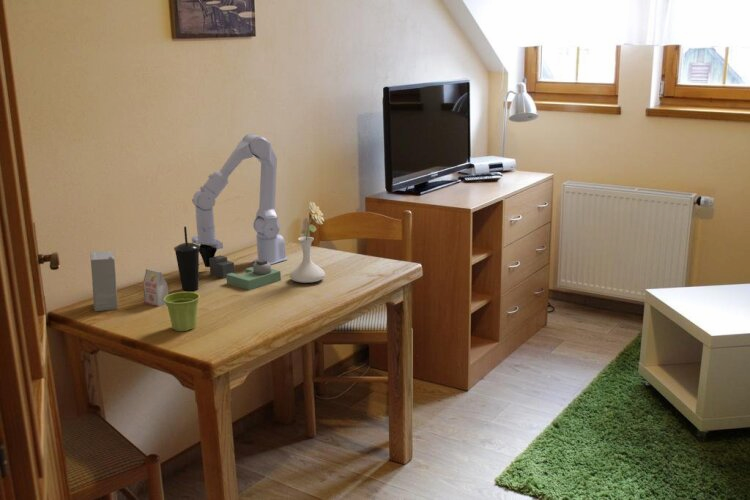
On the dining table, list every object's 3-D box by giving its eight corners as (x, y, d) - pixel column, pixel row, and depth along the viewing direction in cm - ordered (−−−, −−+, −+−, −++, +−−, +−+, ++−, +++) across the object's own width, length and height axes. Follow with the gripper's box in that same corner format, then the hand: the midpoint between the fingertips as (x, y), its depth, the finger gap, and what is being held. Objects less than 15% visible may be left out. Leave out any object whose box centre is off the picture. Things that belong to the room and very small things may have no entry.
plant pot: (205, 321, 213) (202, 291, 211) (198, 333, 204) (196, 302, 202) (170, 322, 213) (168, 292, 210) (163, 334, 204) (159, 303, 201)
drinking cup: (196, 293, 236) (191, 230, 231) (173, 292, 238) (167, 229, 233) (207, 286, 244) (201, 224, 238) (184, 285, 245) (178, 223, 240)
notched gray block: (221, 271, 259) (220, 255, 258) (234, 275, 255) (233, 258, 253) (210, 274, 256) (209, 258, 254) (223, 278, 251) (222, 261, 250)
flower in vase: (309, 288, 240) (305, 208, 233) (282, 282, 246) (278, 204, 240) (336, 277, 250) (333, 201, 243) (309, 272, 256) (306, 197, 250)
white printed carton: (154, 299, 232) (151, 267, 230) (169, 303, 228) (166, 271, 226) (144, 302, 229) (141, 270, 227) (158, 306, 225) (155, 274, 223)
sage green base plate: (258, 274, 255) (257, 254, 254) (280, 280, 248) (279, 259, 246) (226, 283, 246) (225, 262, 244) (249, 290, 239) (247, 268, 237)
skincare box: (93, 303, 229) (87, 252, 225) (118, 300, 232) (113, 249, 228) (94, 312, 222) (87, 259, 218) (120, 309, 224) (114, 256, 220)
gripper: (182, 226, 258) (186, 265, 261) (209, 232, 248) (212, 272, 252) (200, 222, 263) (203, 260, 266) (226, 228, 254) (229, 268, 257)
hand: (208, 266), depth 260 cm, fingers closed
